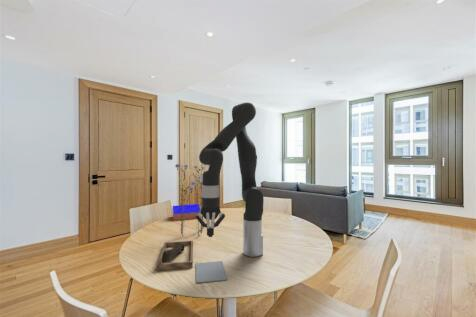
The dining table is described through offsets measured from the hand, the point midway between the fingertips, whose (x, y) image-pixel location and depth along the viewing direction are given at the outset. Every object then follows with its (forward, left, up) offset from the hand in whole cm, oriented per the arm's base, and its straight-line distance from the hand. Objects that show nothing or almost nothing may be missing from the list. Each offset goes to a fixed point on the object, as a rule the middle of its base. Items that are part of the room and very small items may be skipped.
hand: (210, 236), depth 95 cm
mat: (0, 0, -15) cm, 15 cm away
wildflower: (+8, -46, -15) cm, 49 cm away
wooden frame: (+15, -18, -15) cm, 28 cm away
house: (+13, -85, -15) cm, 87 cm away
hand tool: (+15, -19, -18) cm, 30 cm away
